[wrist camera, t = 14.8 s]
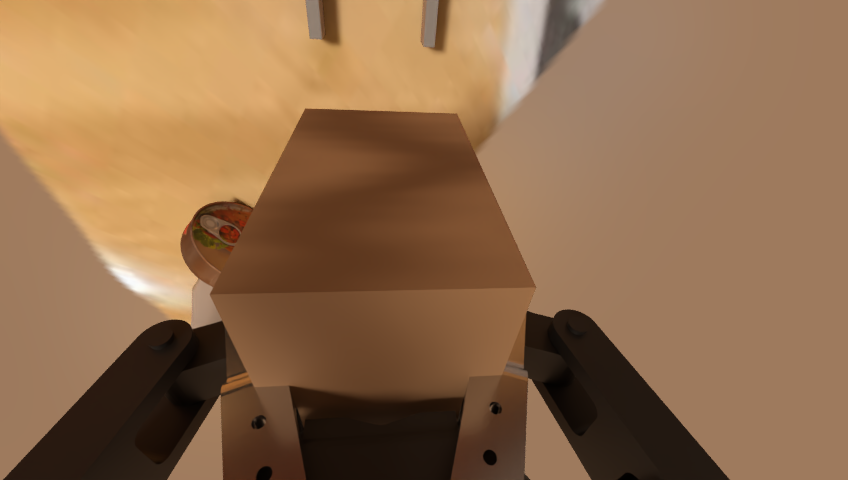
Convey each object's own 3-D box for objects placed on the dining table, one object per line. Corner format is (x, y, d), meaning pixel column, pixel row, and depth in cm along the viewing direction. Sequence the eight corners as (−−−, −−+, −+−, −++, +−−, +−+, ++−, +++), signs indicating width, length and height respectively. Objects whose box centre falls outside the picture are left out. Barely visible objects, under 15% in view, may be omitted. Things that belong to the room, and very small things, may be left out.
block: (456, 113, 12) (536, 287, 6) (433, 305, 18) (458, 487, 12) (305, 108, 11) (209, 294, 5) (335, 308, 18) (308, 499, 11)
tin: (345, 265, 40) (339, 325, 33) (328, 280, 41) (318, 341, 34) (216, 184, 32) (175, 242, 25) (199, 205, 33) (155, 266, 26)
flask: (259, 316, 43) (233, 394, 36) (194, 307, 41) (151, 387, 33) (264, 276, 39) (237, 354, 32) (192, 264, 37) (144, 344, 29)
